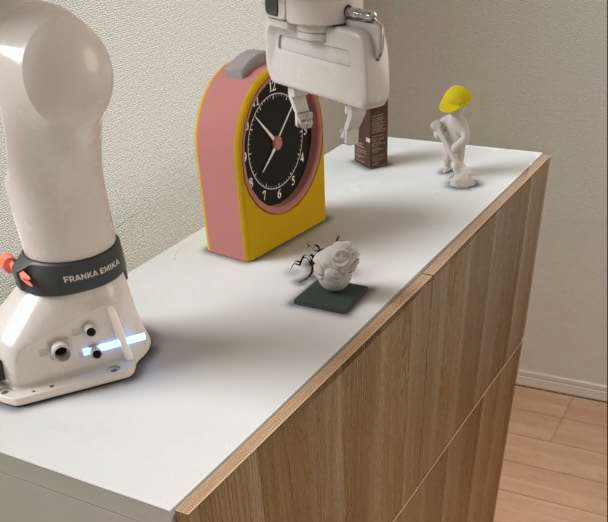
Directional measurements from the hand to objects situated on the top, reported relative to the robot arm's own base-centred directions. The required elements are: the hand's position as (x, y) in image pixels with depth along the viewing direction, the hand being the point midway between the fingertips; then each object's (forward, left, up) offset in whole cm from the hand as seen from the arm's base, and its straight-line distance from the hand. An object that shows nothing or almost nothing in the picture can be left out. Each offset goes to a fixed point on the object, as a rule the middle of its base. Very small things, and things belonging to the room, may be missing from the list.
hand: (326, 135), depth 96 cm
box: (+41, +42, -22) cm, 63 cm away
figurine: (+47, +24, -22) cm, 57 cm away
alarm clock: (+6, +26, -22) cm, 34 cm away
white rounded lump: (+1, 0, -21) cm, 21 cm away
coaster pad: (0, 0, -21) cm, 21 cm away
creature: (+3, +8, -22) cm, 23 cm away
